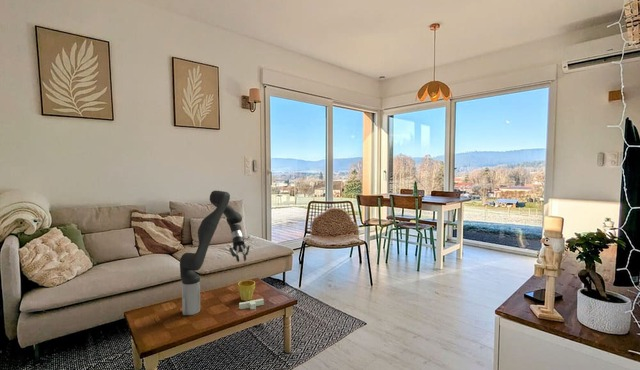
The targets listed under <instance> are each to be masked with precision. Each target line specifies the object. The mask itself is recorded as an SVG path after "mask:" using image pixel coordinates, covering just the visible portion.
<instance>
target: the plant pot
mask: <svg viewBox="0 0 640 370" xmlns="http://www.w3.org/2000/svg"><path fill="white" fill-rule="evenodd" d="M255 288H256V281H254V280H250V279H246V280H241V281H239V282H238V283H237V289H238V291H239V292H238V293H239V296H240V299H241V301H243V302H247V301H251V300H252V298H253V295H254V290H255Z"/></svg>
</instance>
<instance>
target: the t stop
mask: <svg viewBox="0 0 640 370" xmlns="http://www.w3.org/2000/svg"><path fill="white" fill-rule="evenodd" d="M264 305H265V301H264V298H259V299H253V300H252V299H251V300H247V301H243V302H239V303H238V309H239V310H244V309H250V310H256V309H257V307H259V306H264Z"/></svg>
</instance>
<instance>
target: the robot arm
mask: <svg viewBox="0 0 640 370" xmlns="http://www.w3.org/2000/svg"><path fill="white" fill-rule="evenodd" d="M230 195H231V194H230V193H229V192H228V191H222V190H212V191H211V192H210V195H209V203H210V204H211V205H213V206H214V207H215V209H214V210H213V211H211V213H209V214H208V215H207V216H205V218H203V219H202V221H201V222H200V224H199V227H198V229H197V238H198V246H197V249H196V251H195V252H185V253H183V254H182V255H181V257H180V260H179V272H180V278H181V282H182V283H181V289H182V290H181V292H182V293H181V306H182V308H181V309H182V311H181V312H182V316H192V315H193V316H194V315H197V314H198V313H199V312H201V276H200V275H199V274H198V273H197V272H196V271H199V270H200V269H201V268H202V266H203V264H204V261H205V259H206V254H207V252H208V248H209V246H210V244H211V241H212V239H213V236H214V235H215V232H216V230H217V228H218V225H219V222H220V220H221V218H222V216H223V215H224V216H225V218H226V223H227V225H228V226H229V228H230V233H231V240H232V247H229V253H230V254H231V256H232V257H235V259H236V262H237V263H240V257H239V253H241V254H242V257H243V262H246V261H247V256H248V255H249V250H250V245H246V244H245V238H244V235H243V232H242V231H243V230H242V226H241V224H240V223H241V222H242V221H243V216H242V215H241V214H240V213H239V212H238V211H236V210H235V209H234V207H232V206H231V205H230V204H229V203H230V199H231V196H230ZM245 250H246V251H245Z"/></svg>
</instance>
